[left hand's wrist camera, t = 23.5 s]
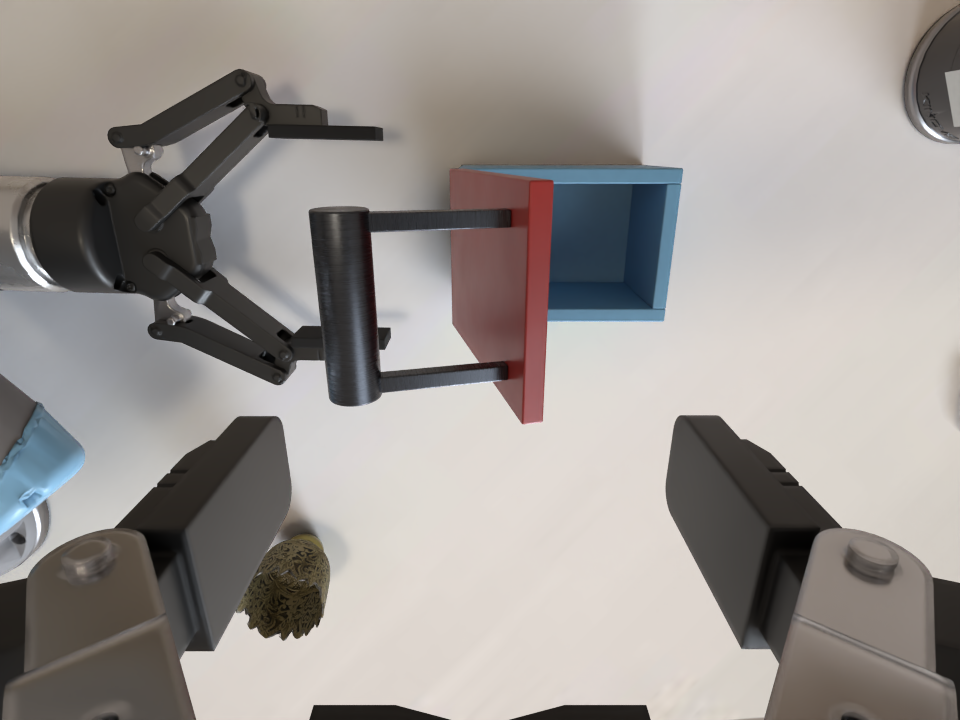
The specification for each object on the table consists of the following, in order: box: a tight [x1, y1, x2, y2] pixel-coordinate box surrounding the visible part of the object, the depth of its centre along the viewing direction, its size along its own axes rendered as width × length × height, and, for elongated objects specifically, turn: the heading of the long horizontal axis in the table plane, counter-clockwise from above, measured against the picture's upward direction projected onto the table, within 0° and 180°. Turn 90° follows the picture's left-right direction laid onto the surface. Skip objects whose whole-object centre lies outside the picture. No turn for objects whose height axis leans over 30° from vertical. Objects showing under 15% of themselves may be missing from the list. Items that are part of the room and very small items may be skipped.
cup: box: [236, 533, 330, 641], centre depth 50 cm, size 8×7×8 cm
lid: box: [309, 169, 554, 424], centre depth 27 cm, size 14×10×9 cm
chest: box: [458, 165, 683, 321], centre depth 39 cm, size 14×10×9 cm
